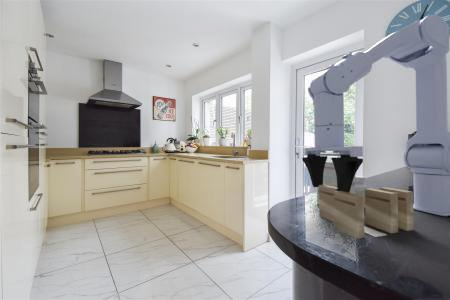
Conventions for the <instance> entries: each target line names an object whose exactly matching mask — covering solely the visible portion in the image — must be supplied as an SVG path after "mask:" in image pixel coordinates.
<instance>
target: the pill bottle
mask: <svg viewBox="0 0 450 300" xmlns="http://www.w3.org/2000/svg"><path fill="white" fill-rule="evenodd" d="M365 183H366V177H365V176H364V175H355V194H356V195H361V196H364V208H365V189H368V186H367V184H365Z"/></svg>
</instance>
